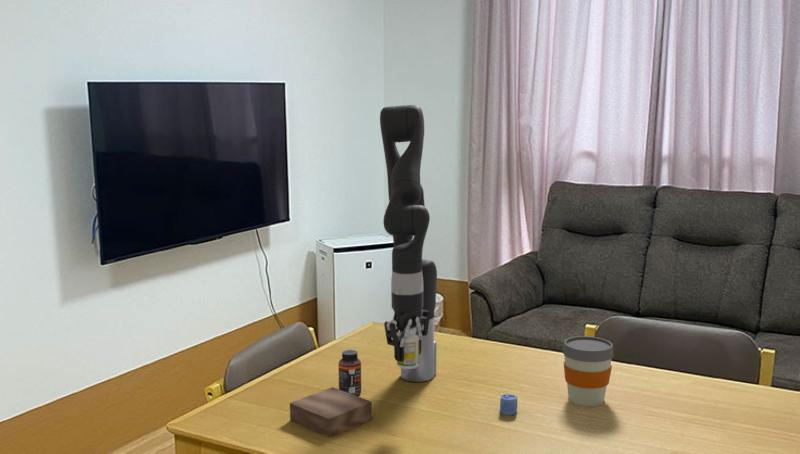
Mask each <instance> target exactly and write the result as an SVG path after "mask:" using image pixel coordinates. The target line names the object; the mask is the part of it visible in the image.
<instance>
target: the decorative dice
mask: <svg viewBox="0 0 800 454" xmlns="http://www.w3.org/2000/svg"><path fill="white" fill-rule="evenodd" d="M499 412H500V413H501V414H503V415H505V416H514V415H516V414H517V413H518V397H517V395H514V394H511V393H504V394H502V395H501V396H500V403H499Z"/></svg>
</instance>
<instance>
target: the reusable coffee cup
mask: <svg viewBox="0 0 800 454" xmlns="http://www.w3.org/2000/svg"><path fill="white" fill-rule="evenodd" d="M562 354H563V356H564V361H563V370H564V371H563V372H564V380H565V382H566V387H567V397H568V400H569V401H570V402H571V403H573V404H575V405H579V406H583V407H584V406H585V407H596V406H599V405H602V404H604V402H605V397H606V392H607V387H608V385H609V383H610V378H611V375H612V374H611V372H612V369H613V366H612V364H611V363H612V359H613V358H614V345H613V343H612V342H611V341H610V340H607V339H604V338H602V337H597V336H590V335H589V336H587V335H586V336H583V335H581V336H579V335H578V336H573V337H569V338H566V339H565V340H564V342H563V349H562Z"/></svg>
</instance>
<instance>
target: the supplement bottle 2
mask: <svg viewBox="0 0 800 454" xmlns="http://www.w3.org/2000/svg"><path fill="white" fill-rule="evenodd" d="M399 333H403V332H402V331H400V330H399ZM398 341H400V336H399V338H398ZM403 347H404V361H403V362H399V361H396V365H397V367H398V368H399V369H401V368H403V369H413V368H416V367H418V365H419V337H418V335H417V334H416V327H413V328H410V329H409V332H408V336H407V338H405V341H404V345H403Z"/></svg>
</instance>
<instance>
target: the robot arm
mask: <svg viewBox="0 0 800 454" xmlns="http://www.w3.org/2000/svg"><path fill="white" fill-rule="evenodd" d="M423 112H424V111H423V109H422V107H421V106H419V105H418V104H407V105H405V104H404V105H394V106H393V105H392V106H391V105H390V106H385V107H383V108H382V109H381V110H380V114H379V125H380V133H381V139H382V146H383V153H384V158H385V159H384V160H385V164H386V165H385V166H386V167H385V168H386V175H387V176H386V177H387V191H388V193H387V194H388V204H387V206H386V209H385V211H384V215H383V228H384V230H385V231H386V233H387V234H388V235H390V236H392V239H393V241H392V242H393V248H392V250H391V279H390V280H391V281H390V282H391V283H390V284H391V285H390V286H391V298H390V299H391V309H392V310H393V312H394V313H393V314H394V315H393V318H392V319H391V320H390V321H387V320H386V321H385V322H384V323H383V325H384V331H385V338H386V342H387V343H386V344H387V345H389V346H393V349H394V350H393V352H394V353H393V354H394V356H393V357H394V359H395V361H396V362H397V361H399V362H403V361H404V347H403V345H404V341H405V338H407V336H408V332H409V329H410V328H413V327H416V334H417V335H418V337H419V365H418V367H416V368H413V369H403V368H400V377H401V378H402V379H403V380H405V381H408V382H412V383H415V382H416V383H420V382H421V383H423V382H428V381H430V380H432V379H434V377H435V376H436V375H437V342H436V340H435V311H436V310H435V309H436V303H437V283H438V270H437V266H436V263H435V262H434V261H433V260H431V259H423V249H424V248H423V247H424V243H425V239H426V235H427V232H428V229H429V225H430V219H431V218H430V212H429V210H428V208H427V207H426V205H425V196H424V195H425V194H424V189H423V186H422V183H421V164H422V157H423V149H424V139H425V117H424V113H423ZM408 142H409V144H408V146H407V147H406V149H405V151H403V153H402V154H400V153H399V152H400V151H399V150H398V147H397V145H396V144H397V143H408ZM399 330H400V331H402V332H403V333H400V332H399ZM399 336H400V341H398V338H399Z"/></svg>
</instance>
